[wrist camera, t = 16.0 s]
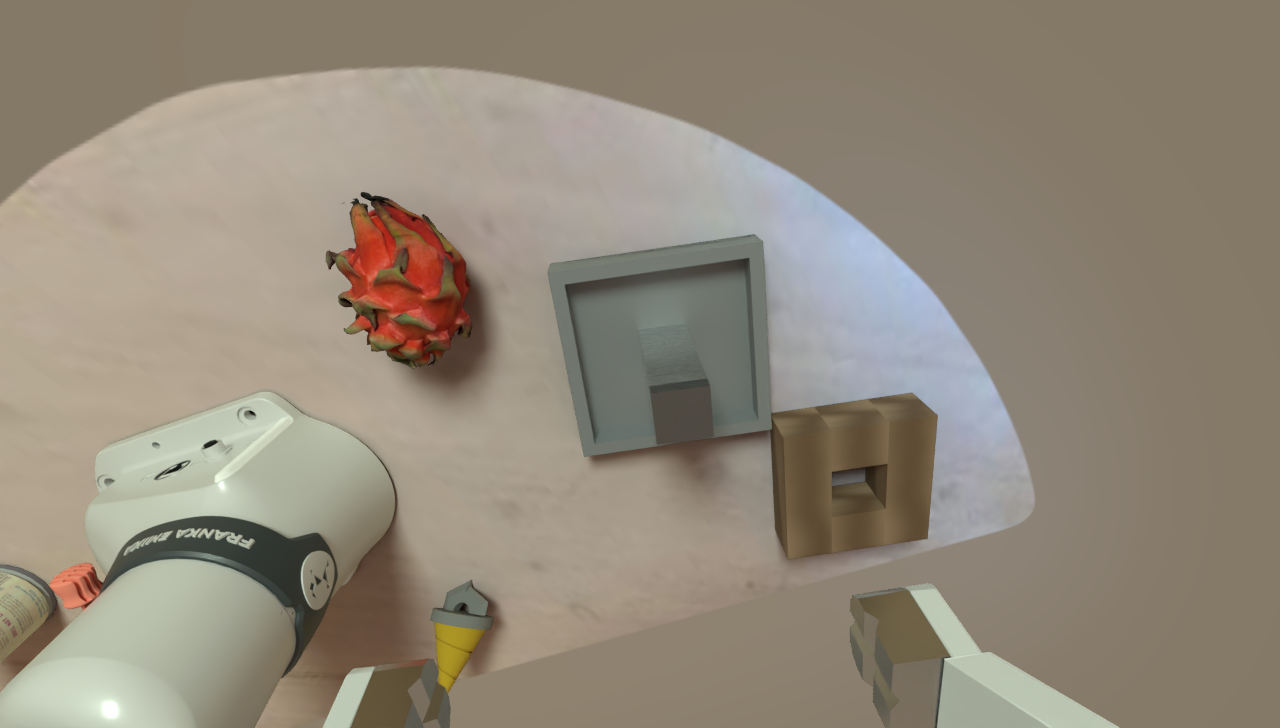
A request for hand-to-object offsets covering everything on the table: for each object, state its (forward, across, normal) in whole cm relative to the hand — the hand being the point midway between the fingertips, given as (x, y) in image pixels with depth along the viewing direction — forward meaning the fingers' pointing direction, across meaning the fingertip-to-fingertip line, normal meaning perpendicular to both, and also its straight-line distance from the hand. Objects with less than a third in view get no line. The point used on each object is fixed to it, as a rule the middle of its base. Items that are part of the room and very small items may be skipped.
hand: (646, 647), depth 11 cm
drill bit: (+34, +18, +31) cm, 50 cm away
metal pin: (+33, -3, +7) cm, 34 cm away
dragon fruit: (+34, +14, -1) cm, 37 cm away
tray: (+34, -3, +8) cm, 35 cm away
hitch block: (+34, -17, +21) cm, 43 cm away
